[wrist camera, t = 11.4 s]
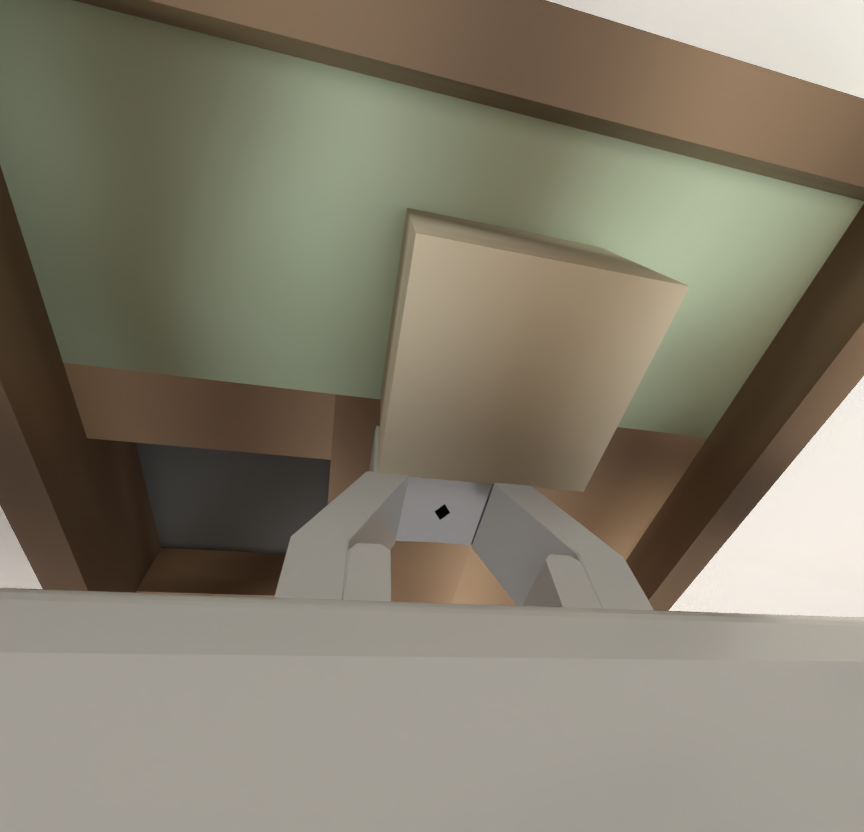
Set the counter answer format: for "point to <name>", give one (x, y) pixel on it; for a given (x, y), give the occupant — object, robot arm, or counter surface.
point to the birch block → (513, 353)
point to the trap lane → (387, 268)
